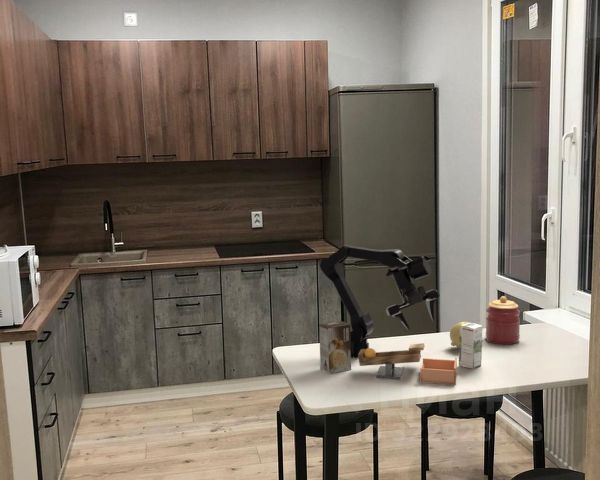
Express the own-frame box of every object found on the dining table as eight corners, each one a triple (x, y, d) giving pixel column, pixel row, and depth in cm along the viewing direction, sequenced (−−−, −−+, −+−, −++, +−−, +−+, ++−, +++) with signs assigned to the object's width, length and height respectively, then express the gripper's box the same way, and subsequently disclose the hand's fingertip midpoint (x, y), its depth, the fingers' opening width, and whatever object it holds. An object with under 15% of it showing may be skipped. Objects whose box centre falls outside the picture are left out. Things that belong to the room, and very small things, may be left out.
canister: (526, 342, 250) (527, 298, 248) (497, 346, 246) (498, 301, 244) (506, 334, 262) (507, 291, 260) (478, 337, 259) (479, 294, 256)
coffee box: (342, 364, 227) (341, 320, 225) (351, 369, 222) (351, 324, 220) (319, 368, 223) (318, 323, 221) (328, 374, 217) (328, 328, 215)
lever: (359, 366, 216) (357, 354, 215) (367, 351, 232) (366, 340, 231) (420, 361, 210) (419, 350, 210) (424, 347, 226) (423, 336, 225)
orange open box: (420, 382, 208) (420, 365, 208) (423, 370, 219) (423, 355, 218) (455, 384, 205) (455, 368, 205) (456, 373, 216) (456, 357, 215)
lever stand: (376, 378, 213) (376, 363, 212) (380, 368, 222) (380, 354, 222) (400, 379, 211) (400, 365, 210) (403, 370, 220) (403, 356, 219)
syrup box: (467, 361, 228) (467, 322, 226) (482, 365, 224) (482, 324, 222) (458, 365, 224) (458, 325, 222) (473, 369, 220) (474, 328, 218)
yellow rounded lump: (486, 348, 243) (486, 321, 241) (464, 354, 236) (464, 326, 235) (466, 343, 251) (466, 316, 250) (444, 348, 244) (444, 321, 243)
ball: (364, 362, 216) (361, 351, 216) (366, 358, 220) (363, 347, 220) (376, 360, 215) (373, 349, 215) (378, 356, 219) (375, 345, 219)
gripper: (384, 293, 217) (401, 336, 215) (434, 273, 218) (452, 316, 217) (378, 293, 228) (395, 334, 227) (426, 274, 229) (443, 315, 228)
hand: (421, 325), depth 224 cm, fingers open, 9 cm apart
